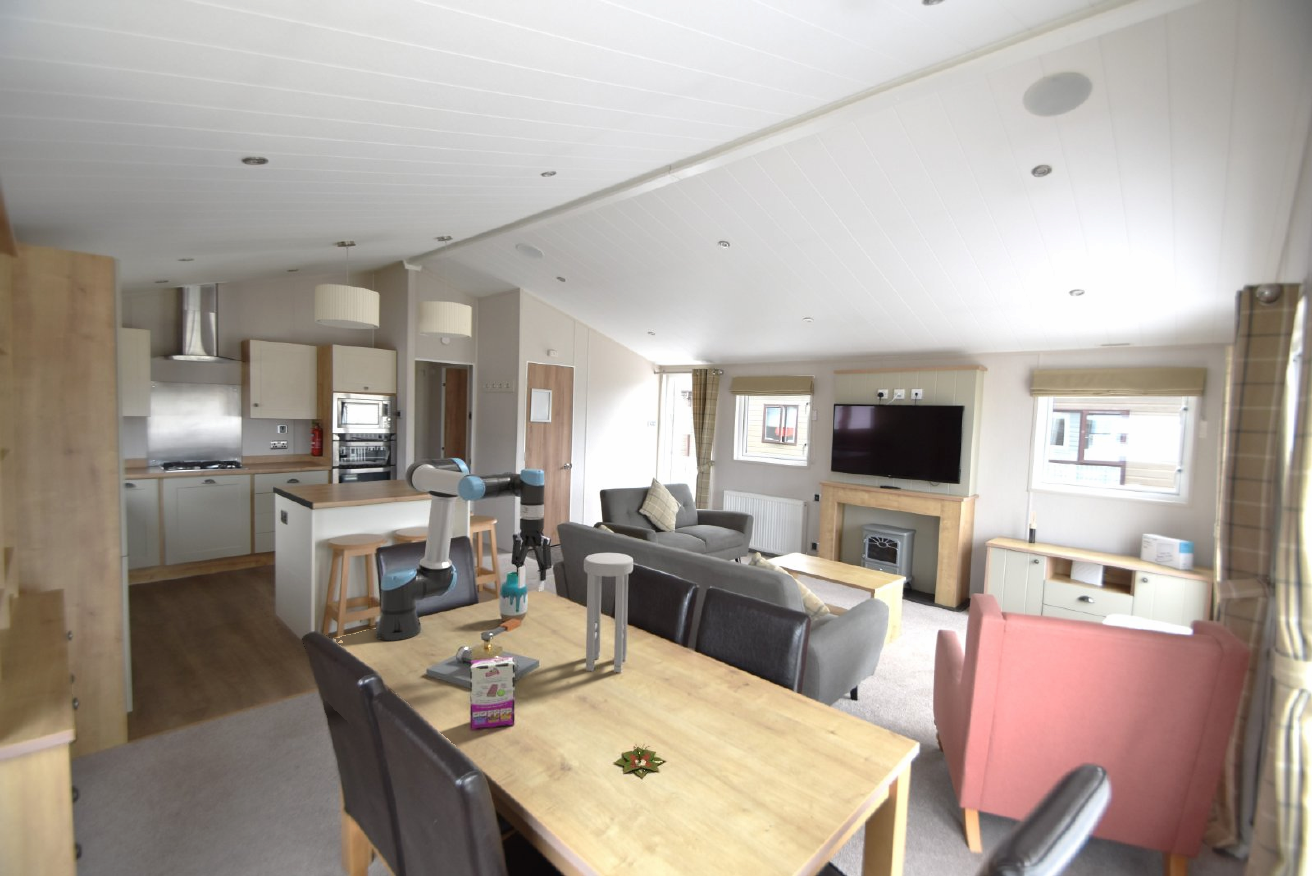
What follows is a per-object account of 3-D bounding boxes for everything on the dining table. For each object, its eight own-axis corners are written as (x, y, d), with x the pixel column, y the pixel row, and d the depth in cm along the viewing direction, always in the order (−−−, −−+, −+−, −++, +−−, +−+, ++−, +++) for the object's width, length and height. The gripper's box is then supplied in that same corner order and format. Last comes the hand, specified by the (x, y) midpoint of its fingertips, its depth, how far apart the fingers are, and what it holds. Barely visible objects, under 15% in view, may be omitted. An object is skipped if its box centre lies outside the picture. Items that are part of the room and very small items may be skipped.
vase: (523, 627, 223) (524, 577, 223) (495, 626, 224) (496, 576, 223) (530, 617, 234) (530, 569, 233) (503, 616, 234) (504, 569, 233)
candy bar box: (514, 716, 157) (514, 655, 157) (514, 725, 152) (515, 663, 152) (470, 721, 154) (470, 659, 154) (469, 731, 149) (470, 667, 149)
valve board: (426, 675, 180) (426, 668, 180) (477, 650, 200) (477, 644, 200) (491, 694, 169) (491, 687, 169) (539, 666, 189) (539, 660, 189)
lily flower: (637, 744, 146) (638, 726, 146) (675, 763, 138) (676, 744, 138) (603, 765, 137) (604, 746, 136) (642, 787, 129) (643, 767, 129)
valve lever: (478, 639, 182) (478, 633, 181) (512, 624, 196) (512, 618, 196) (487, 641, 180) (487, 636, 180) (521, 625, 194) (521, 620, 194)
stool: (633, 656, 198) (635, 553, 197) (626, 676, 183) (628, 564, 182) (588, 653, 200) (590, 551, 199) (577, 672, 184) (579, 562, 183)
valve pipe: (454, 664, 185) (454, 636, 184) (468, 658, 190) (468, 630, 190) (506, 679, 175) (507, 649, 175) (519, 671, 181) (520, 642, 180)
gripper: (499, 516, 188) (498, 587, 189) (550, 522, 180) (548, 596, 180) (515, 513, 195) (514, 581, 196) (564, 518, 186) (563, 590, 187)
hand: (530, 588), depth 188 cm, fingers open, 7 cm apart
